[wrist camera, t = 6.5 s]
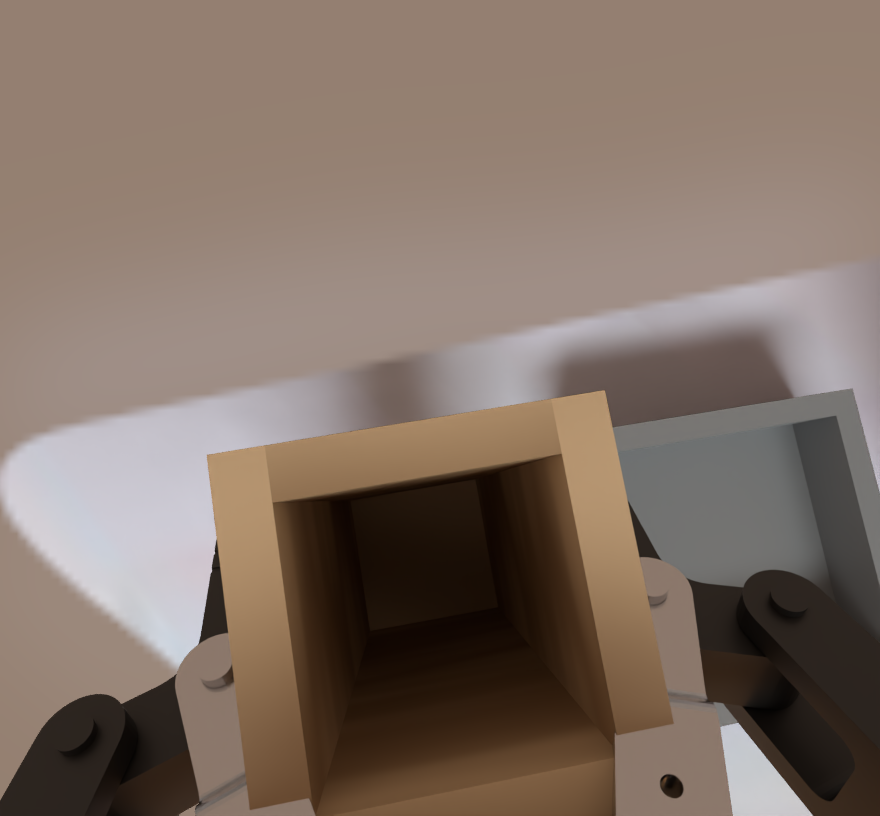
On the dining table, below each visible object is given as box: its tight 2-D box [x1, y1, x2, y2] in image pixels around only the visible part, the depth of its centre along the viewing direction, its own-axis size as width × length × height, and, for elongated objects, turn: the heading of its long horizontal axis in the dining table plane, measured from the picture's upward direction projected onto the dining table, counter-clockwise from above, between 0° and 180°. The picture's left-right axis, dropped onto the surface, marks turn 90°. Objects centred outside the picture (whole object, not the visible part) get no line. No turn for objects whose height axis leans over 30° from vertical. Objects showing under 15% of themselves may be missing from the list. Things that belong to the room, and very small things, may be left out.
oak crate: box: [207, 390, 674, 816], centre depth 13 cm, size 5×5×11 cm
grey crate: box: [613, 389, 880, 726], centre depth 22 cm, size 10×10×3 cm
